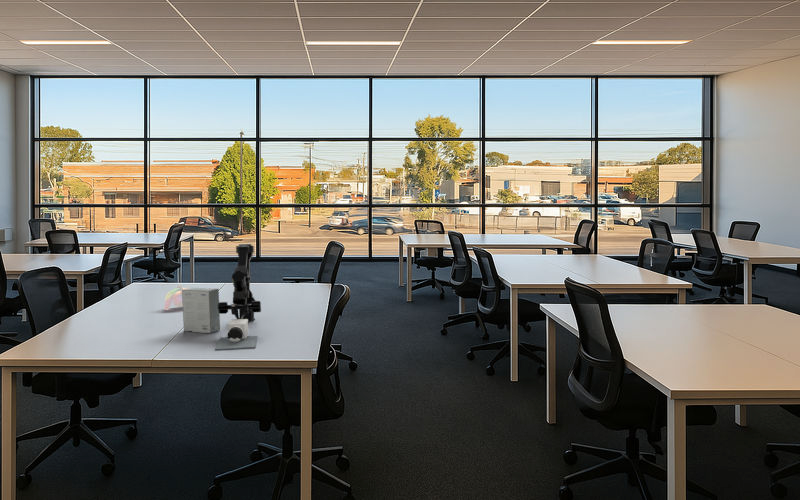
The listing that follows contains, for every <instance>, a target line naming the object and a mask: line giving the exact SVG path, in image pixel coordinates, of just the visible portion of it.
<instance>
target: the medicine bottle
mask: <svg viewBox="0 0 800 500" xmlns="http://www.w3.org/2000/svg"><path fill="white" fill-rule="evenodd" d="M227 325H228V328H227V329H228V332H227V336H226V337H228V339H229V340H230V341H232V342H238V341H240V340H245V339H246V338H247V336H249V322H248V319H236V318H233V319H231V320H230V321H229V323H228V324H227Z"/></svg>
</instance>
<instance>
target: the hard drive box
mask: <svg viewBox="0 0 800 500" xmlns="http://www.w3.org/2000/svg"><path fill="white" fill-rule="evenodd" d="M187 288H188V287H187ZM219 293H220V291H219V288H208V287H189V288H188V289H184V290H182V300H183V306H182V315H183V317H182V318H183V332H188V331H192V332H191V333H202V334H213V333H216V332H217V331H221V317H220V316H221V315H220V313H219V311H218V303H219V302H220V296H219V295H220V294H219Z"/></svg>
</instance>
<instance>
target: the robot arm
mask: <svg viewBox="0 0 800 500" xmlns="http://www.w3.org/2000/svg"><path fill="white" fill-rule="evenodd" d="M235 250H236V252H235V253H236V254H237V256H238V260H237V267H236V268H235V269H234V273H233V274H232V275H231V282H232V285H233V288H234V289H233V291H232V292H233V293H232V303H231V304H228V301H219V303H218V311H219V313H220V314H221V315H223V314H224V315H225V314H227V313H228V312H229V310H230V311H231V312H230V313H231V315H234V317H235V319H248V323H249V322H252V321H255V320H256V318H255V313H261V312H262V302H261V301H260V300H256V299H255V297H254V295H253V294H254V293H252V291H251V286H250V285H251V279H252V276H251V274H250V271H251V270H250V267H251V266H250V261H251V260H252V258H253V255H254V254H253V253H254V252H255V246H254V245H252V243H239V244H238V245H236V246H235Z"/></svg>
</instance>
